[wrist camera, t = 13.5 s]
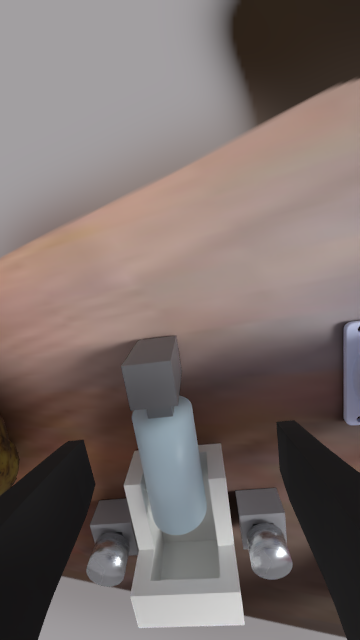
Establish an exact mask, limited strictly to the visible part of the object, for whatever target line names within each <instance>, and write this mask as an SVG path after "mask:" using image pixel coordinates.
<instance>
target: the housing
mask: <svg viewBox="0 0 360 640" xmlns="http://www.w3.org/2000/svg"><path fill="white" fill-rule="evenodd" d="M198 449H199V456H200V463H201V469H202V476H203V483H204V489H205V496H206V503H207V510H206V514H205V517H204V519H203V520H202V522H201V523H200V525H199V526H198V527H197V528H195V529H194V530H192V531H191V532H189V533H186V534H183V535H170V534H167V533H165V532H163V531H161V530H160V529H159V528H158V527H157V526H156V524H155V522H154V520H153V515H152V511H151V506H150V501H149V497H148V492H147V487H146V483H145V478H144V473H143V469H142V464H141V459H140V454H139V450H138V451H134V453H133V457H132V460H131V463H130V466H129V470H128V473H127V476H126V479H125V483H124V489H125V493H126V498H127V499H113V500H99V503H98V505H97V508H96V510H95V513H94V516H93V518H92V521H91V523H90V528H91V531H92V535H93V538H94V542H96V540H97V538H98V537H99V536H100V535H102V534H105V533H114V532H122V536H123V537H124V538H126V540H127V541H128V542H129V545H130V551H129V555H138V558H137V563H136V568H135V574H134V579H133V584H132V590H131V595H130V597H131V601H132V605H133V609H134V613H135V617H136V620H137V624H138V628H156V627H190V626H226V625H245V622H244V614H243V606H242V598H241V590H240V583H239V576H238V569H237V561H236V554H235V547H234V539H233V531H232V523H231V515H230V507H229V499H228V491H227V484H226V476H225V469H224V462H223V455H222V447H221V443H218V444H206V445H198ZM235 493H236V501H237V510H238V518H239V525H240V531H241V537H242V543H243V549H248V544H247V533H248V531H249V530H250V529H251V528H252V527H253V526H255V524H262V523H269V524H273V525H275V526H277V527H279V528H280V529H281V530H282V532H283V534H284V537H285V540H286V544H287V538H286V523H285V512H284V509H283V506H282V503H281V500H280V498H279V495H278V492H277V489H276V488H267V489H253V490H239V491H235Z"/></svg>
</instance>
